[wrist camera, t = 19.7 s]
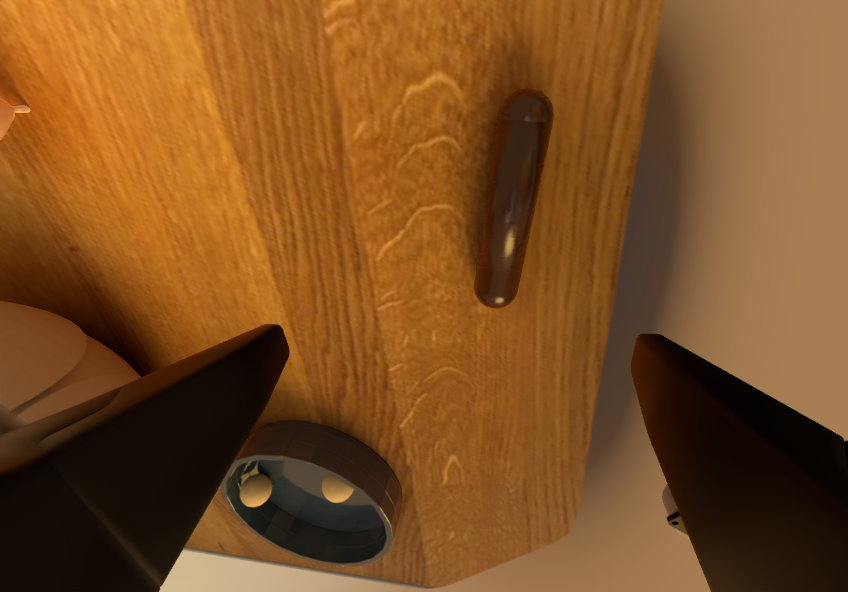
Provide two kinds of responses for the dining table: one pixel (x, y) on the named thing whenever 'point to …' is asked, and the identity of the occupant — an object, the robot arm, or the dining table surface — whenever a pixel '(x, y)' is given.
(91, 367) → the decorative bowl
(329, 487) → the dough ball
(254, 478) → the dough ball
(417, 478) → the dining table surface
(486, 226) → the stick
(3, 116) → the spinning top
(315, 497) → the round shallow dish
